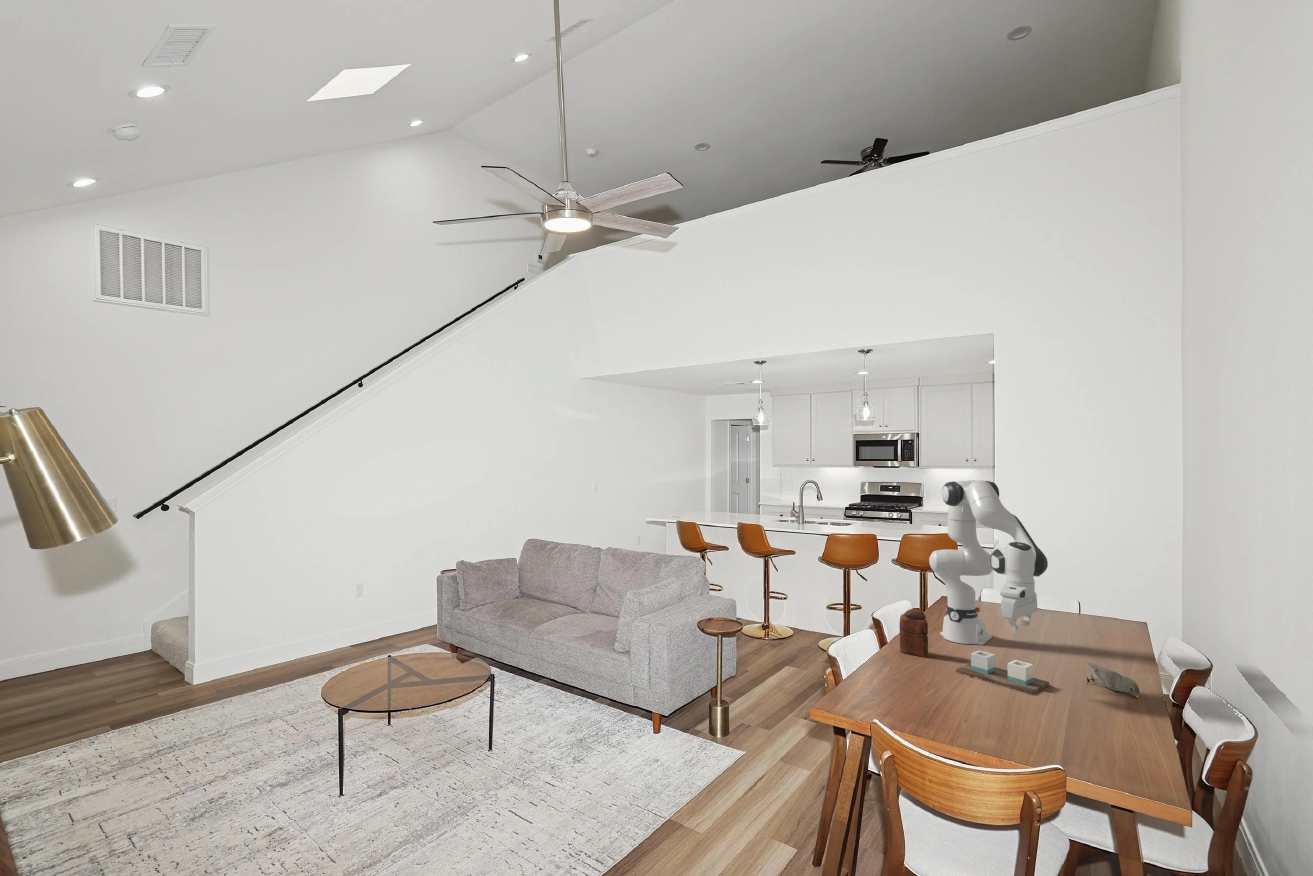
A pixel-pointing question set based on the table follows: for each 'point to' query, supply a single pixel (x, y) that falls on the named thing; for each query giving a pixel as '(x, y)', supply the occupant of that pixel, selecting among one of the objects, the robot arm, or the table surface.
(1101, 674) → the decorative bird
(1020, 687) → the pin board
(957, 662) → the table surface
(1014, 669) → the cream sleeve
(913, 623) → the brown leather case
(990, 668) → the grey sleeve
